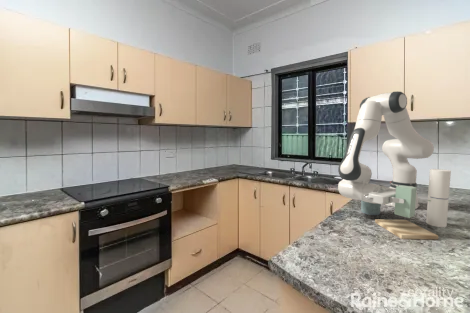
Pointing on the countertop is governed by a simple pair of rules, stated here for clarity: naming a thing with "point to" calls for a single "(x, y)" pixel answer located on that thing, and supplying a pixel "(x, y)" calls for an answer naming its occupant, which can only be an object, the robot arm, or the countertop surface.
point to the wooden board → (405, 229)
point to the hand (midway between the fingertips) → (407, 200)
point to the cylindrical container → (438, 197)
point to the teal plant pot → (370, 208)
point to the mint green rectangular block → (410, 200)
